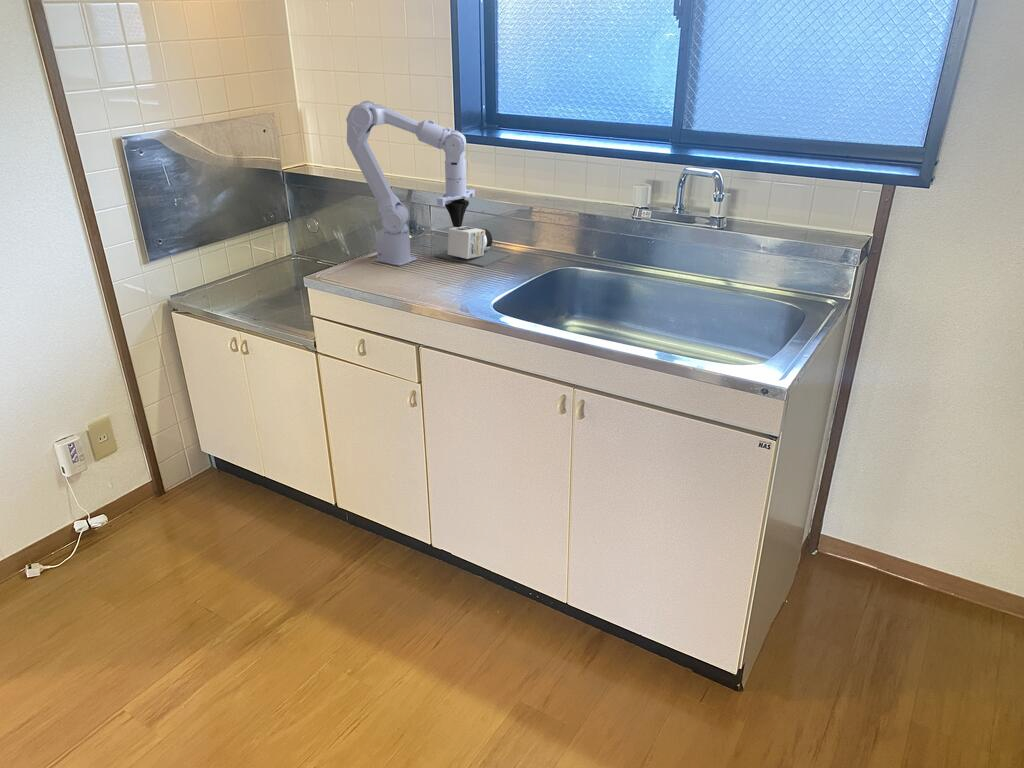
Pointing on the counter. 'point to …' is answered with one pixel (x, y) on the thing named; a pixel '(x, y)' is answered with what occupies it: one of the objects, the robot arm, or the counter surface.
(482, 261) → the mat
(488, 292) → the counter surface
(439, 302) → the counter surface
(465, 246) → the container
